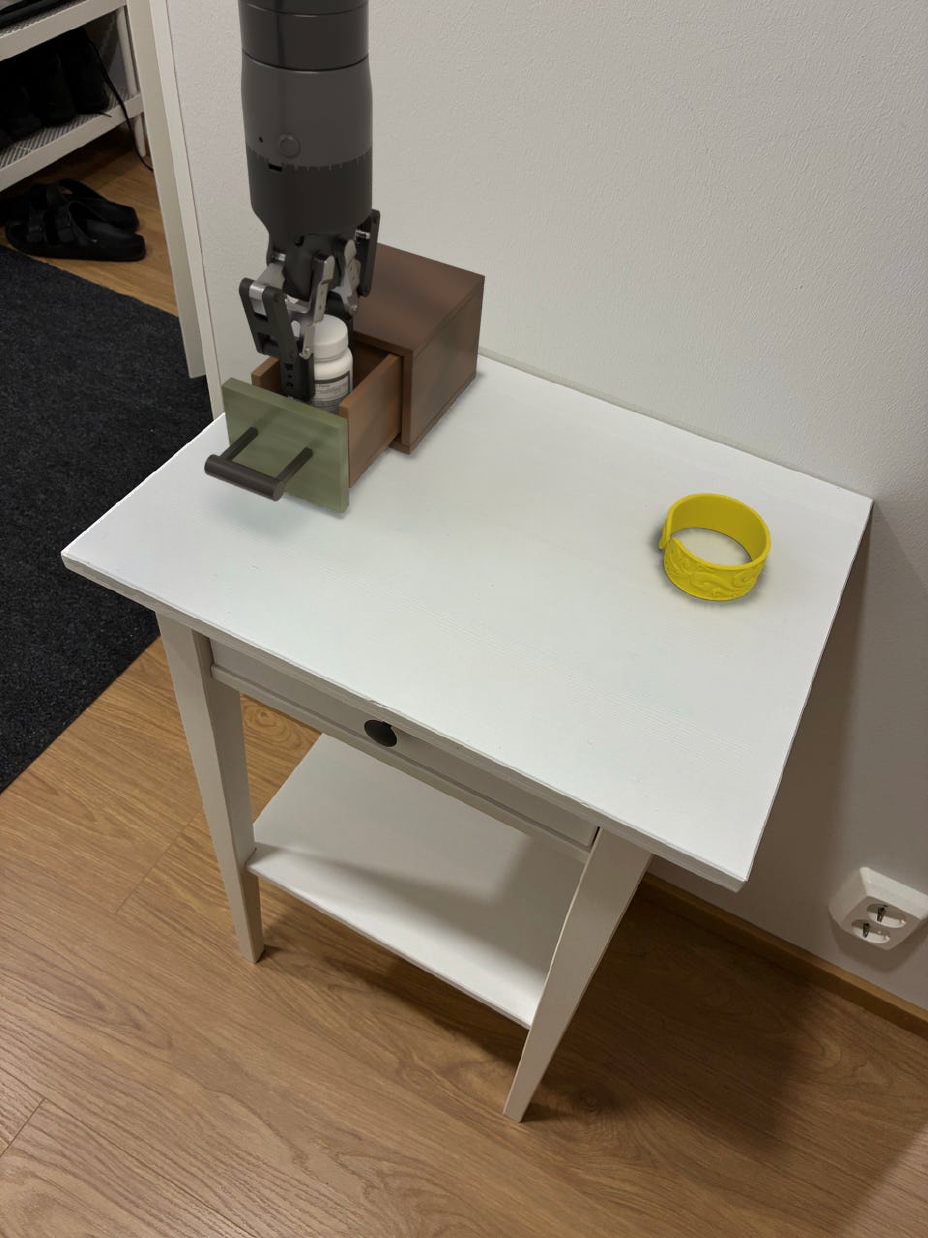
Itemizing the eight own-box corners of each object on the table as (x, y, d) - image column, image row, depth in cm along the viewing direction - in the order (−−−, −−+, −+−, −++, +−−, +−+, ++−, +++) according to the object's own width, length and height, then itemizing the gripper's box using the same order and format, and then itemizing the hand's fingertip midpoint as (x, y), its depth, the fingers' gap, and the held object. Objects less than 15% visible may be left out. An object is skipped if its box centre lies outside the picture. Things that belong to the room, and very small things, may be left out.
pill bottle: (300, 402, 75) (294, 304, 68) (359, 412, 74) (359, 315, 68) (282, 439, 71) (274, 340, 65) (344, 450, 71) (342, 351, 65)
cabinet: (409, 455, 77) (413, 350, 70) (295, 413, 80) (288, 308, 72) (476, 376, 85) (485, 275, 78) (370, 340, 87) (370, 239, 80)
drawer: (302, 559, 67) (295, 472, 61) (189, 513, 69) (173, 425, 64) (413, 431, 78) (417, 346, 72) (313, 394, 80) (308, 309, 74)
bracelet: (741, 524, 74) (754, 492, 72) (771, 601, 69) (786, 569, 67) (649, 524, 74) (659, 491, 71) (672, 602, 68) (684, 569, 66)
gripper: (317, 81, 62) (325, 317, 75) (182, 158, 53) (217, 412, 66) (420, 109, 61) (411, 346, 73) (298, 194, 52) (311, 448, 64)
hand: (319, 376), depth 70 cm, fingers closed on pill bottle, 4 cm apart
